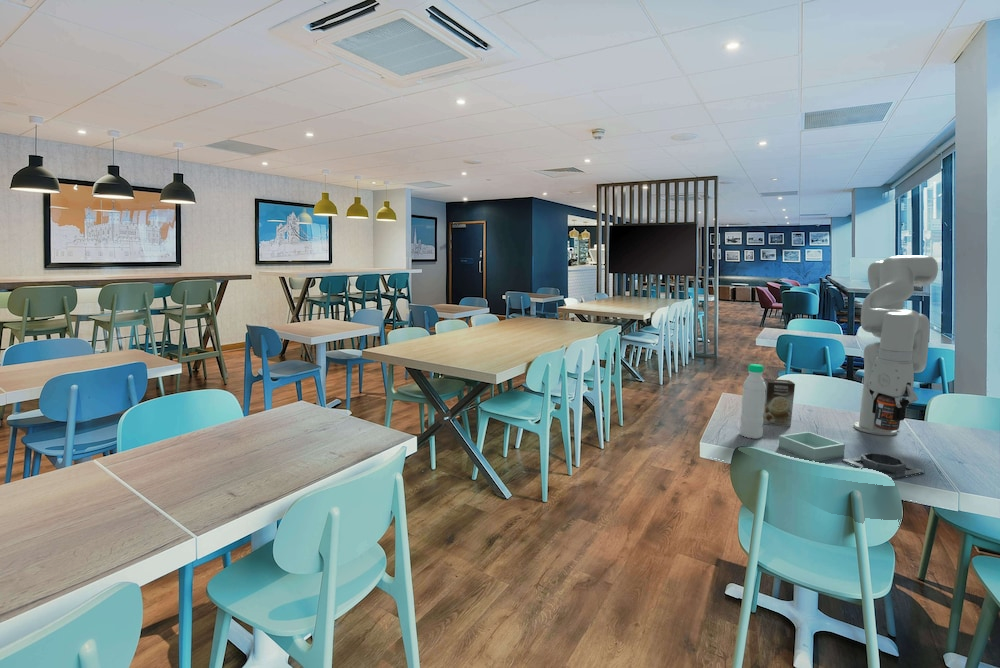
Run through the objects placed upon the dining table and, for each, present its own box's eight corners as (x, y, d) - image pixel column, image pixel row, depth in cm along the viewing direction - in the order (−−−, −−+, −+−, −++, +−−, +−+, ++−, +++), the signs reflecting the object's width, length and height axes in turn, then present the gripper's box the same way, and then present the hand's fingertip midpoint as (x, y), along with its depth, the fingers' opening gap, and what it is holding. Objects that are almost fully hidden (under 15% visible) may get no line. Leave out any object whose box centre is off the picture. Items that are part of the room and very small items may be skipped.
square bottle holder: (874, 455, 160) (875, 448, 160) (924, 473, 147) (925, 465, 147) (842, 461, 155) (842, 453, 155) (890, 480, 142) (891, 471, 142)
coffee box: (764, 424, 190) (767, 382, 188) (759, 419, 196) (763, 378, 194) (791, 426, 188) (795, 383, 186) (786, 421, 194) (789, 379, 192)
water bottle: (764, 440, 174) (770, 367, 170) (742, 438, 175) (747, 366, 172) (758, 433, 181) (764, 363, 177) (737, 431, 182) (742, 362, 178)
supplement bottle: (878, 430, 148) (883, 392, 146) (870, 423, 154) (874, 386, 152) (903, 432, 147) (907, 393, 145) (893, 425, 152) (897, 388, 150)
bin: (807, 443, 171) (808, 431, 171) (843, 456, 159) (845, 444, 159) (778, 447, 167) (779, 435, 166) (813, 461, 155) (815, 449, 155)
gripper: (857, 350, 154) (851, 408, 157) (912, 362, 138) (904, 427, 141) (879, 349, 156) (872, 406, 159) (936, 361, 139) (927, 425, 142)
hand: (887, 415), depth 150 cm, fingers closed on supplement bottle, 6 cm apart
